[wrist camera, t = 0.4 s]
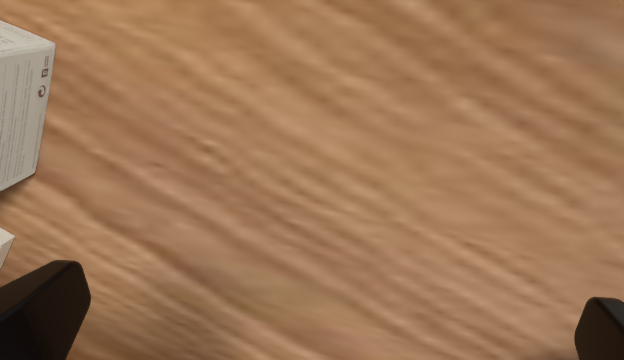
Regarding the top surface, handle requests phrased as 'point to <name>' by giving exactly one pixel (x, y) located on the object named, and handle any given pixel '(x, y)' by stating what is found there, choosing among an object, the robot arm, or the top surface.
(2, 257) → the grey square tray
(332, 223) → the top surface
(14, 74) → the supplement box
